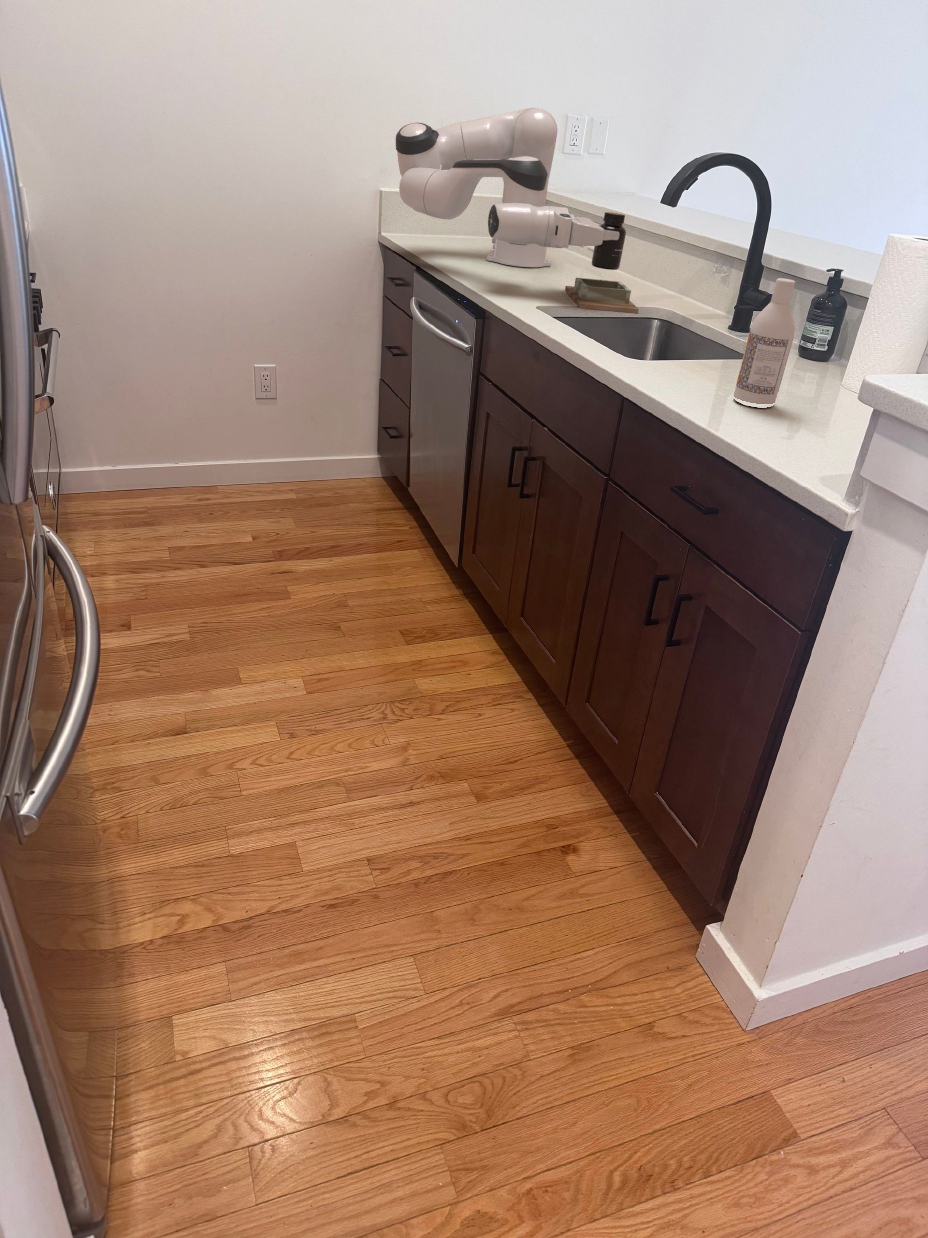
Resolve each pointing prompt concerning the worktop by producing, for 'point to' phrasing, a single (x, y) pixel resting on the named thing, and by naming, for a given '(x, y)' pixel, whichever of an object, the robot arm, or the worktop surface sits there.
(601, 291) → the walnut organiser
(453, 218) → the robot arm
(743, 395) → the bath foam
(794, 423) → the worktop surface
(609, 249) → the supplement bottle
